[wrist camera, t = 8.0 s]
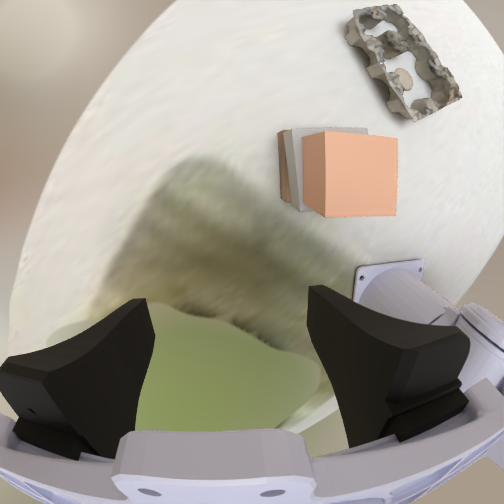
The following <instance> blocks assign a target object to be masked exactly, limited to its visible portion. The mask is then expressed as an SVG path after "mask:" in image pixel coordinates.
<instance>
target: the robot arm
mask: <svg viewBox="0 0 504 504" xmlns="http://www.w3.org/2000/svg"><path fill="white" fill-rule="evenodd" d="M419 268H420V270H419ZM423 269H424V261H423V260H420V259H419V260H411V261H403V262H395V263H386V264H378V265H369V266H361V267H359V268H358V269H357V270H356V277H355V286H354V294H353V301H352V300H350V299H348V298H347V297H345V296H343V295H341V294H339V293H337V292H336V291H334V290H332V289H330V288H328V287H326V286H324V285H316V286H309V292H308V311H307V327H308V331H309V334H310V337H311V341H312V343H313V345H314V348H315V350H316V352H317V354H318V356H319V358H320V360H321V362H322V364H323V366H324V368H325V370H326V373H327V375H328V377H329V379H330V381H331V384H332V386H333V389H334V392H335V396H336V399H337V402H338V405H339V409H340V412H341V416H342V419H343V423H344V427H345V431H346V435H347V439H348V444H349V449H346V450H342V451H339V452H335V453H331V454H326V455H322V456H317V457H312V458H309V454H308V451H307V447H306V444H305V441H304V439H303V437H302V436H301V435H298V434H295V433H292V432H290V431H287V430H284V429H249V430H234V431H212V432H210V431H209V432H183V431H161V430H141V431H135V422H136V414H137V407H138V400H139V396H140V392H141V388H142V385H143V382H144V379H145V376H146V373H147V369H148V366H149V363H150V360H151V356H152V353H153V348H154V341H155V333H154V329H153V326H152V322H151V318H150V314H149V310H148V306H147V302H146V298H142V299H132V300H130V301H128V302H127V303H125V304H124V305H122V306H121V307H119V308H118V309H116V310H115V311H114V312H112V313H111V314H109V315H108V316H107V317H105V318H104V319H102V320H101V321H99V322H98V323H96V324H95V325H93V326H92V327H90V328H89V329H87V330H85V331H83V332H82V333H80V334H78V335H76V336H74V337H72V338H70V339H68V340H66V341H63V342H61V343H58V344H56V345H54V346H51V347H48V348H45V349H42V350H39V351H35V352H31V353H27V354H22V355H17V356H10V357H8V358H7V359H6V361H5V362H4V363H3V364H2V366H1V367H0V392H1V393H2V395H3V396H4V398H5V399H6V400H7V402H8V403H9V404H10V406H11V407H12V409H13V410H14V411H15V413H16V414H17V415H18V416H19V418H18V420H17V422H15V421H14V420H13V419H11V418H10V417H8V416H6V415H3V414H1V413H0V476H1V477H2V478H3V479H4V480H6V481H7V482H8V483H9V484H11V485H12V486H14V487H15V488H17V489H19V490H20V491H22V492H24V493H26V494H27V495H29V496H31V497H33V498H35V499H37V500H38V501H40V502H42V503H44V504H409V503H411V502H413V501H415V500H417V499H418V498H420V497H422V496H424V495H425V494H427V493H429V492H430V491H432V490H434V489H436V488H437V487H439V486H440V485H442V484H444V483H445V482H447V481H448V480H450V479H451V478H453V477H454V476H456V475H457V474H458V473H460V472H461V471H463V470H464V469H466V468H467V467H469V466H470V465H471V464H473V463H474V462H475V461H477V460H478V459H479V458H484V457H489V458H490V459H491V460H493V461H494V462H495V463H496V464H497V465H498V466H499V467H501V469H502V470H503V471H504V322H503V321H502V320H500V319H499V318H498V317H496V316H495V315H493V314H492V313H491V312H489V311H488V310H486V309H485V308H483V307H482V306H480V305H479V304H477V303H475V302H472V303H469V304H464V305H463V307H462V308H461V310H458V309H457V308H456V307H455V306H453V305H452V304H451V303H450V302H448V301H447V300H446V299H445V298H443V297H442V296H441V295H440V294H438V293H437V292H436V291H434V290H433V289H432V288H430V287H429V286H428V285H427V284H425V283H424V282H423V281H421V280H422V275H423ZM418 270H419V271H418ZM362 275H363V276H362ZM360 276H362V278H361V279H359V278H360ZM502 381H503V382H502ZM499 385H500V386H499Z"/></svg>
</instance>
